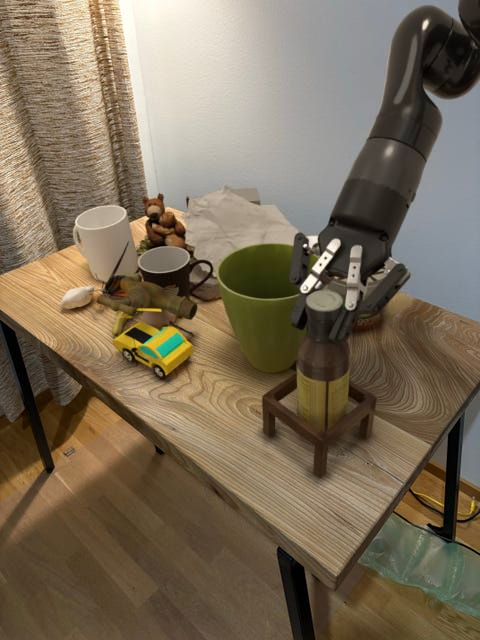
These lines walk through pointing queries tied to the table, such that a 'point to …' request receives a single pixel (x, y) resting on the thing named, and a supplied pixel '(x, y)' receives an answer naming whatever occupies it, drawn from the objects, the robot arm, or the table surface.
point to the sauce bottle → (322, 364)
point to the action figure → (148, 299)
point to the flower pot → (262, 303)
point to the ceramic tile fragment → (204, 284)
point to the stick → (181, 328)
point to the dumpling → (77, 297)
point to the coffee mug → (170, 269)
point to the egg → (158, 318)
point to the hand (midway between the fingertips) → (315, 335)
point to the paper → (231, 226)
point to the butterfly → (114, 282)
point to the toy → (248, 194)
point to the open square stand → (309, 433)
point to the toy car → (154, 346)
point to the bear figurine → (162, 229)
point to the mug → (106, 241)
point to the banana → (119, 324)
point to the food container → (365, 320)
